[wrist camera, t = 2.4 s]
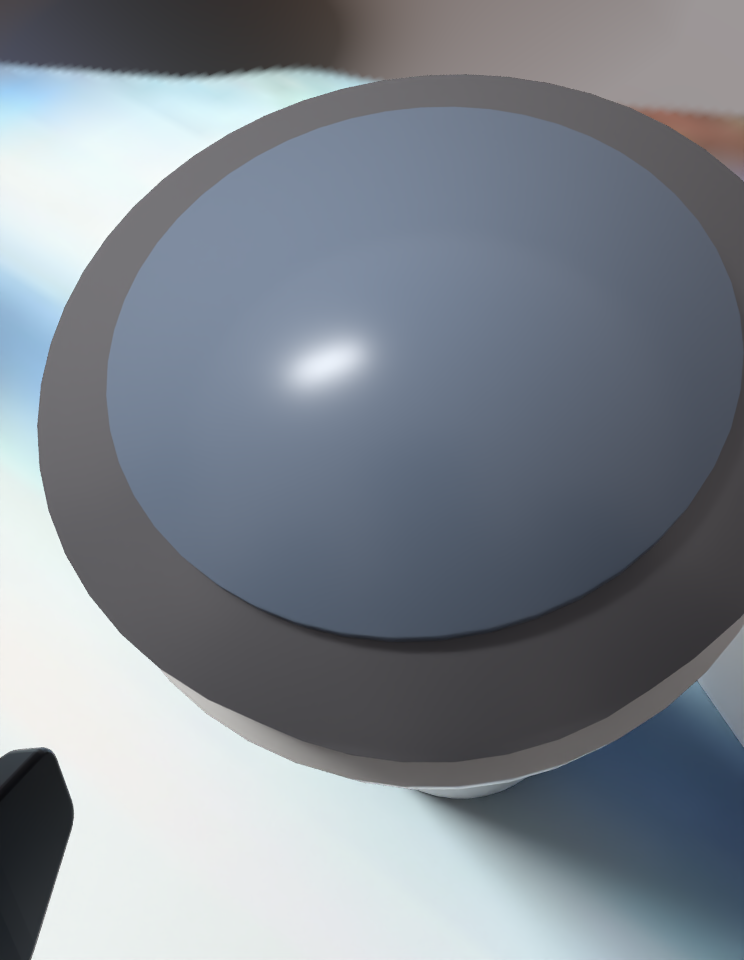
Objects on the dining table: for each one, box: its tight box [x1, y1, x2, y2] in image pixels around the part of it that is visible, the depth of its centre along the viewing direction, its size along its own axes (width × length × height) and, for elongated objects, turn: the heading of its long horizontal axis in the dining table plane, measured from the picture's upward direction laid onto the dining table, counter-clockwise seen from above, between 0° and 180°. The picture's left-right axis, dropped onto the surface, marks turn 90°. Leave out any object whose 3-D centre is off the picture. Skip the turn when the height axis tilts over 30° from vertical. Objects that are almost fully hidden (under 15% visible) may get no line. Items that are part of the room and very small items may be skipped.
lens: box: [37, 74, 744, 799], centre depth 11 cm, size 6×6×14 cm
